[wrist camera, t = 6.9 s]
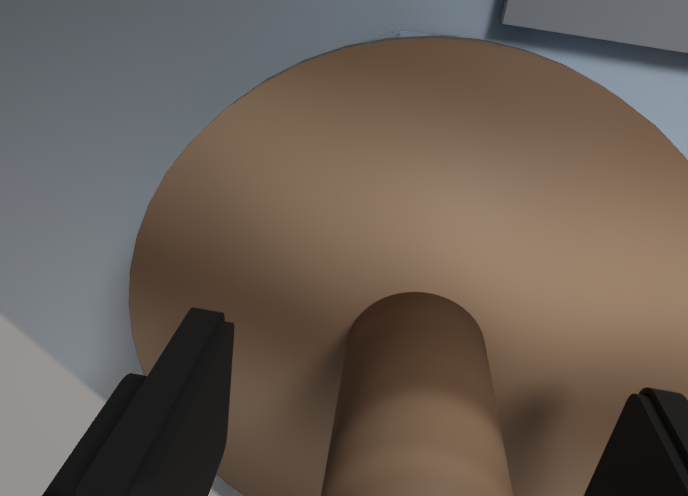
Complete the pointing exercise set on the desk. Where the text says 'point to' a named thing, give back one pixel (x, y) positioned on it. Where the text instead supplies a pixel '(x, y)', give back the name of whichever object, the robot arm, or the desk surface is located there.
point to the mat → (607, 20)
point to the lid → (424, 270)
